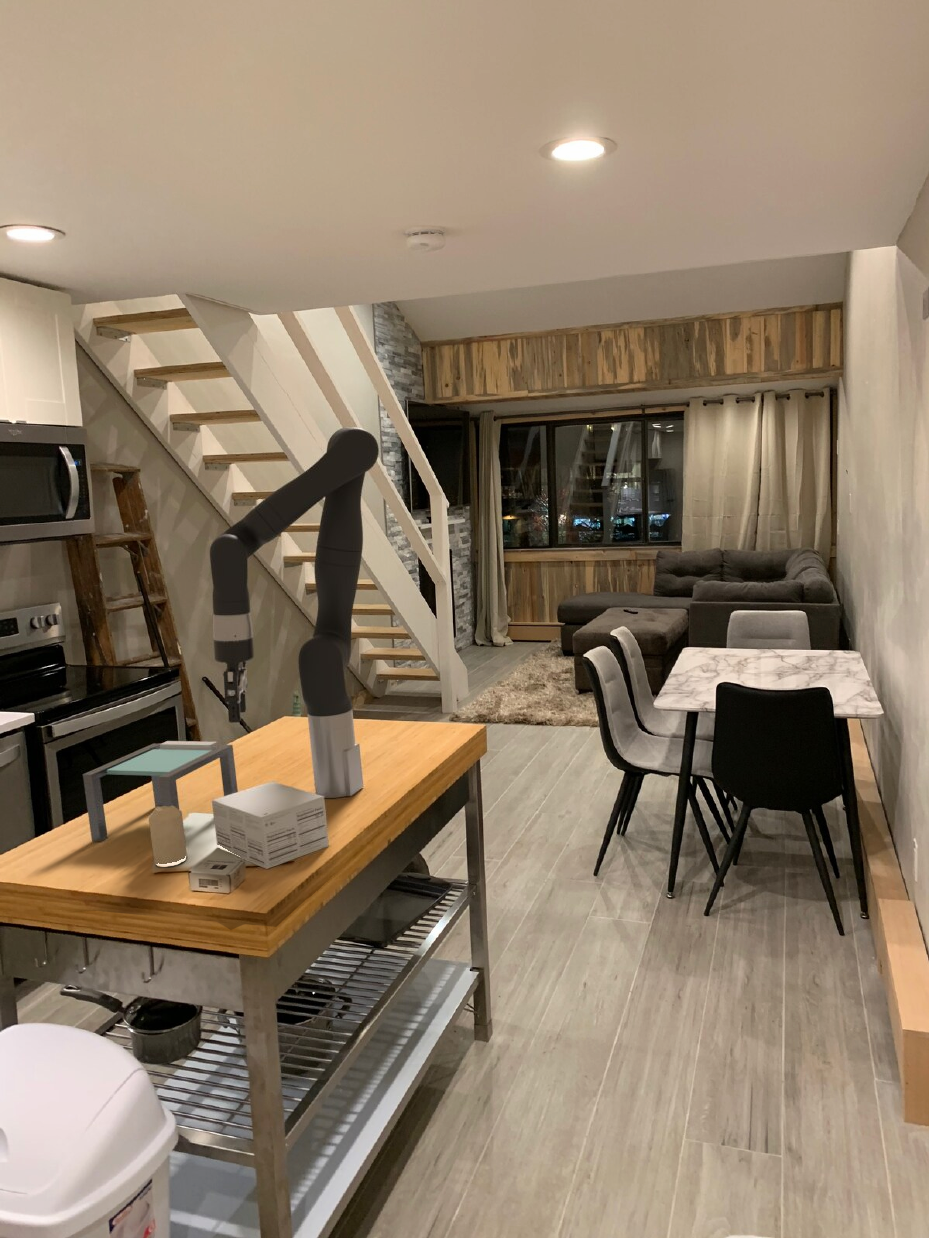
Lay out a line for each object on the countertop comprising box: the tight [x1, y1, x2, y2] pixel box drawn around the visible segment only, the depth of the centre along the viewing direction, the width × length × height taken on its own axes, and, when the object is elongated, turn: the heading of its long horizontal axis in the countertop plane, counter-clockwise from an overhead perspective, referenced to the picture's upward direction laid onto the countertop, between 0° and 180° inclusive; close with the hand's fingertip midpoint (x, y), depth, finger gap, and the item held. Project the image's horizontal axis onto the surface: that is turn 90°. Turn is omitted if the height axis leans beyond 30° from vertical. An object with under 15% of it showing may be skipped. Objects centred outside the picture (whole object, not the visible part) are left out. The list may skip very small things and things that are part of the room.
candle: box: [148, 805, 188, 865], centre depth 161 cm, size 6×6×10 cm
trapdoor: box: [107, 740, 219, 777], centre depth 182 cm, size 17×14×2 cm
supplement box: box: [211, 781, 330, 870], centre depth 165 cm, size 17×13×9 cm
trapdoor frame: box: [82, 742, 239, 843], centre depth 181 cm, size 21×19×13 cm
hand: (237, 716), depth 184 cm, fingers open, 8 cm apart
